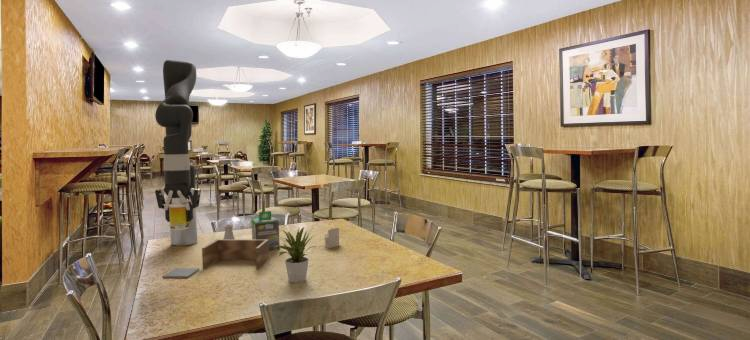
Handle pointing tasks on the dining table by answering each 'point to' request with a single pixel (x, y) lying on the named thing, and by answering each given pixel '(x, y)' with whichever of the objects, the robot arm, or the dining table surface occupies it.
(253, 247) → the walnut box
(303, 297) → the dining table surface
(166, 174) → the robot arm
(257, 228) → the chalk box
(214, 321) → the dining table surface
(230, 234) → the flask
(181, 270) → the grey pad
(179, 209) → the supplement bottle
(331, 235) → the architectural model
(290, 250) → the house plant
